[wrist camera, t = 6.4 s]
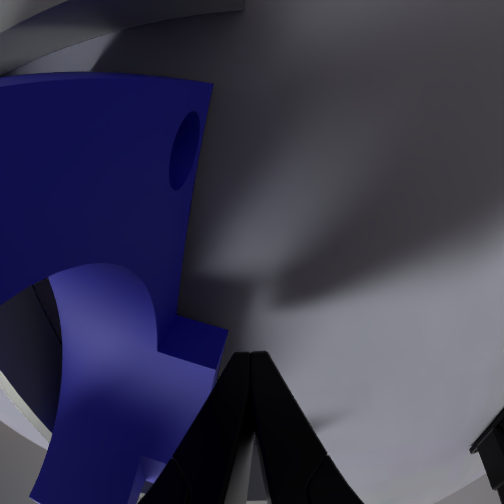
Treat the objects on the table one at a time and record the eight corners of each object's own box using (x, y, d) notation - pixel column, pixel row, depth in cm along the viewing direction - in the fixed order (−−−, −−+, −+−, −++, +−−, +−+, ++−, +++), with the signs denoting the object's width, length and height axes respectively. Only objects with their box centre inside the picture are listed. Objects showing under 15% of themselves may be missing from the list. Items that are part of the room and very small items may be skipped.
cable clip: (203, 430, 12) (164, 560, 6) (103, 395, 12) (43, 507, 6) (286, 98, 6) (146, 125, 1) (93, 71, 6) (-159, 123, 1)
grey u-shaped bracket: (242, -21, 5) (236, -83, 2) (269, 450, 14) (272, 504, 11) (-38, 71, 5) (-111, 89, 2) (113, 442, 14) (101, 489, 11)
